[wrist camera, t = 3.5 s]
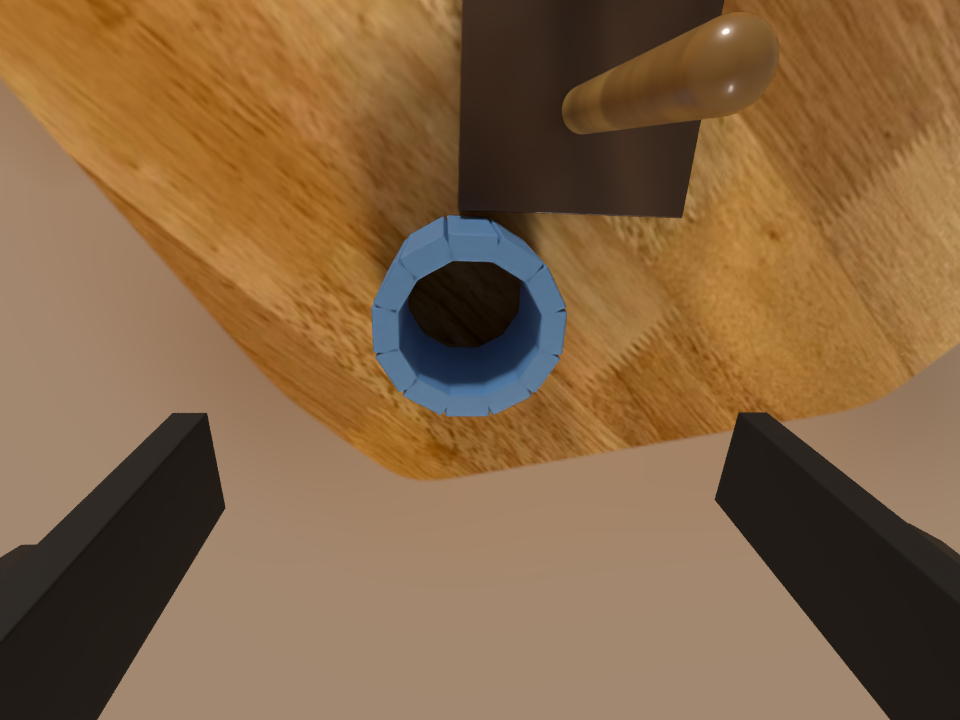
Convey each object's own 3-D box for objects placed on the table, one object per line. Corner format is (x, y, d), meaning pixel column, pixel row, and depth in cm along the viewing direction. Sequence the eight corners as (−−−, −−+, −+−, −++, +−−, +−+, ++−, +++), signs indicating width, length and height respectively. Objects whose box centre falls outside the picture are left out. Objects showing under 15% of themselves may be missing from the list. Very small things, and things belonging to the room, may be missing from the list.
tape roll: (546, 218, 25) (576, 237, 20) (533, 365, 28) (555, 417, 23) (384, 212, 24) (367, 230, 19) (389, 364, 28) (376, 416, 22)
